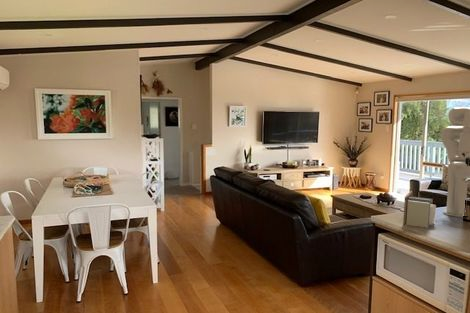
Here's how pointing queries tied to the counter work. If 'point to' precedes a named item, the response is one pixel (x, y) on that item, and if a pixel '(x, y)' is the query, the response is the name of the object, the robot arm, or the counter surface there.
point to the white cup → (432, 213)
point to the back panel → (406, 206)
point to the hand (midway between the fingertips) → (468, 165)
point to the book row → (418, 212)
